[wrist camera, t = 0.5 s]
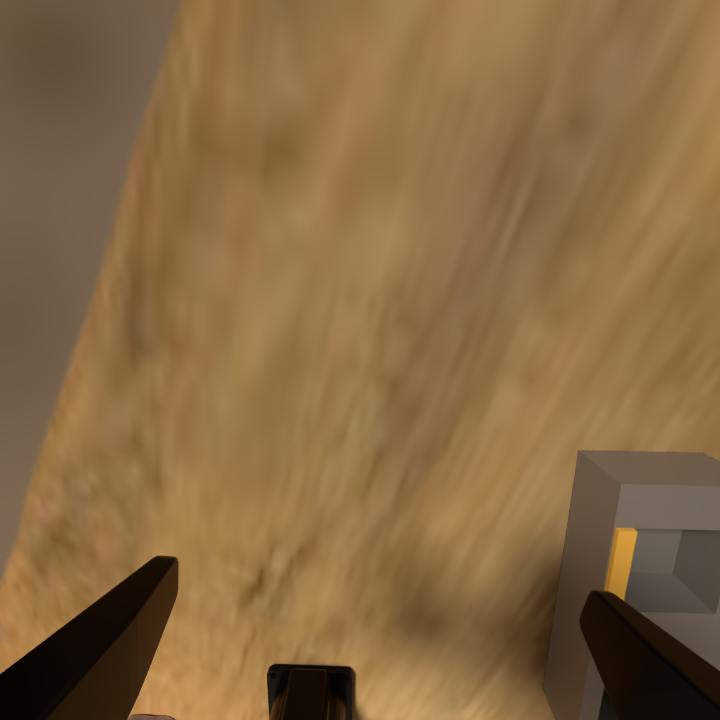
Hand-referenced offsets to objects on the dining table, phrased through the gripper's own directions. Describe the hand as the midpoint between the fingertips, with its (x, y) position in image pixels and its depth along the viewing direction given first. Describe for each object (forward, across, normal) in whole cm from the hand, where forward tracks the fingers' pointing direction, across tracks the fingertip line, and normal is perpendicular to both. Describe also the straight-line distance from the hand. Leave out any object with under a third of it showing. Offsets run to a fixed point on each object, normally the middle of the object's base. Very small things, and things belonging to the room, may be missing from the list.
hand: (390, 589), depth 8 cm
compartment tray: (+13, -20, +12) cm, 27 cm away
